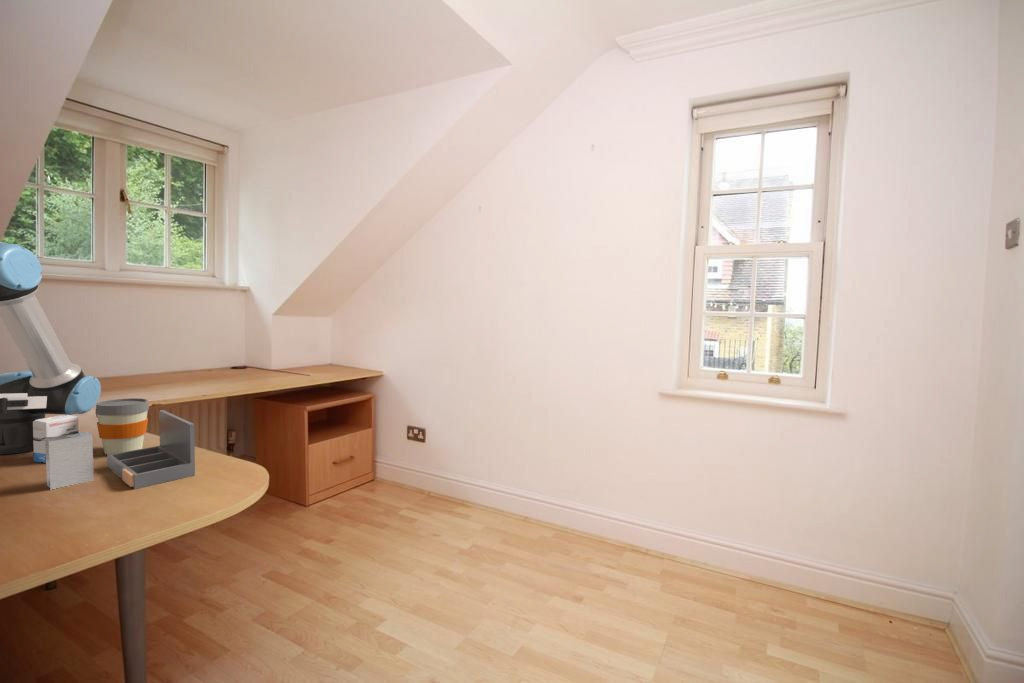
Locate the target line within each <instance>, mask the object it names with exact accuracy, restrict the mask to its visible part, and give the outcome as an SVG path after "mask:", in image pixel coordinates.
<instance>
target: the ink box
mask: <svg viewBox="0 0 1024 683" xmlns="http://www.w3.org/2000/svg"><path fill="white" fill-rule="evenodd" d="M78 433H79V416H78V415H74V414H73V415H64V414H59V415H56V416H55V415H54V416H50V417H45V418H43V419H38V420H35V421H33V445H34V450H33V462H34V461H35V462H34V463H41V462H43V464H46V447H45V438H50V437H57V436H64V435H71V434H78Z"/></svg>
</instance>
